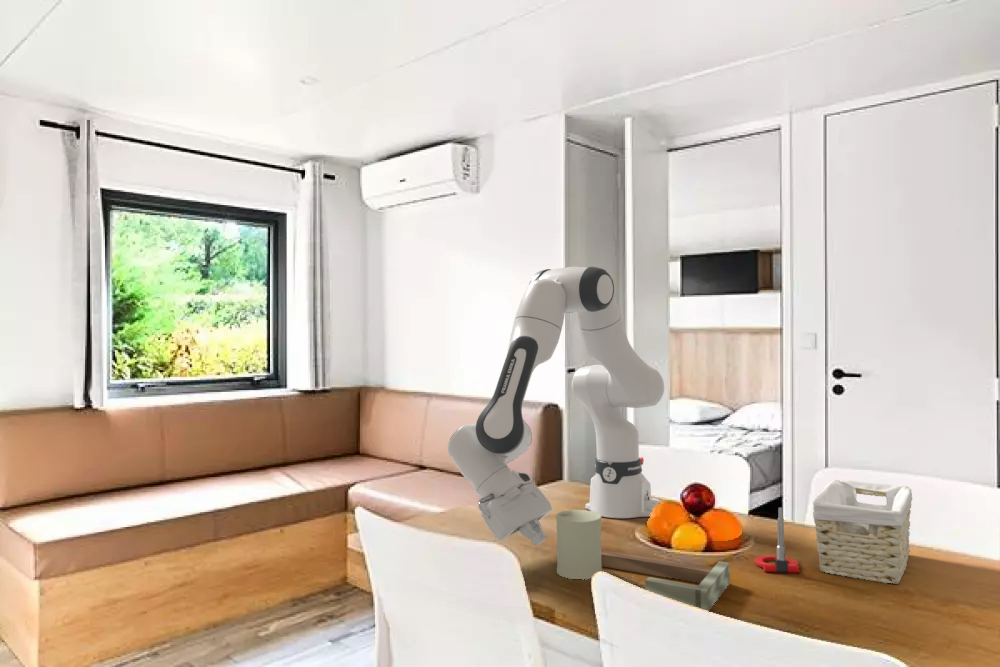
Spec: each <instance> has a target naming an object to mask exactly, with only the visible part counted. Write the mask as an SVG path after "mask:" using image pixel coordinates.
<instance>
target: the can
mask: <svg viewBox="0 0 1000 667" xmlns="http://www.w3.org/2000/svg"><path fill="white" fill-rule="evenodd" d="M555 518H556V550H557V551H556V552H557V554H556V555H557V556H556V557H557V560H556V563H557V564H556V573H557V575H558V574H559V575H558V576H560V577H561V576H562V577H561V578H564V577H565V578H564V579H567V578H568V579H567V580H572V579H582V580H581V581H589V580H591V579H590V578H591V576H592V575H593V574H594V573H596V572H597V571H602V572H603V566H602V564H601V550H602V516H601V515H600V514H599V513H596V512H593V511H591V510H588V509H585V510H584V509H571V510H563V511H560V512H558V513H556V515H555ZM584 579H585V580H584ZM588 579H589V580H588Z"/></svg>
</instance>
